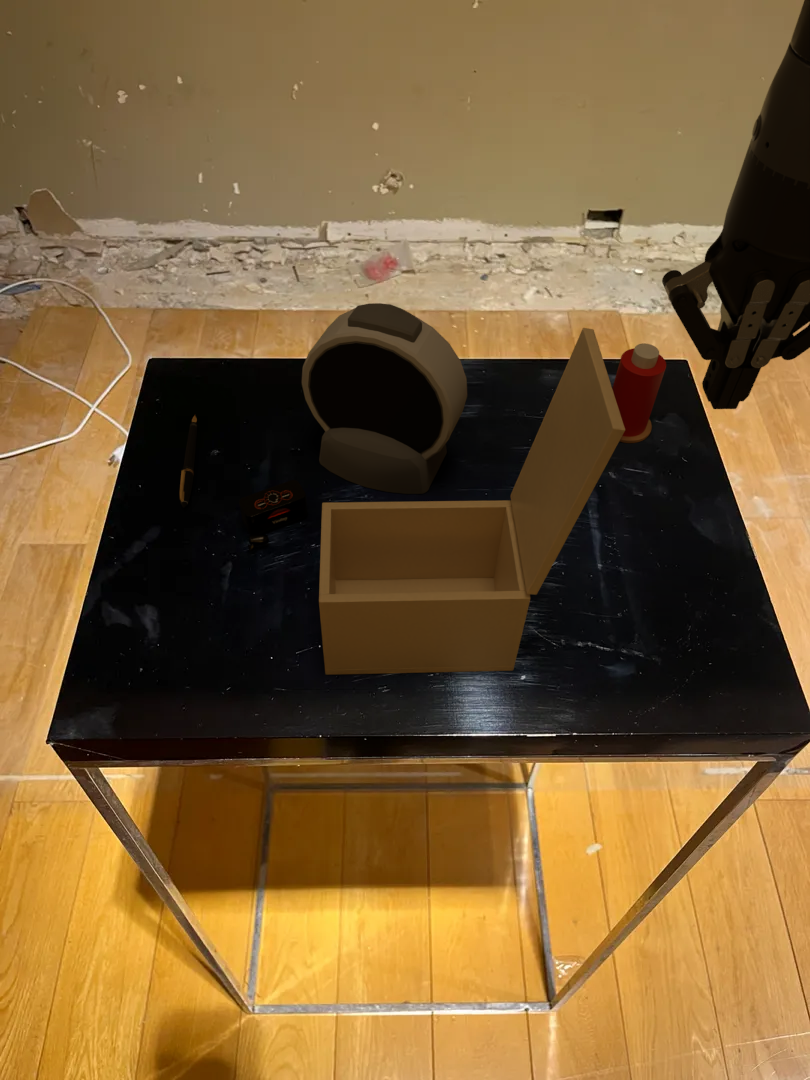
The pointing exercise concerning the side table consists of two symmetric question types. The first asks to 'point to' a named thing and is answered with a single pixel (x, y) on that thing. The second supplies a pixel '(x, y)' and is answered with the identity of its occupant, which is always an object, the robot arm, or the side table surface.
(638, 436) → the coaster
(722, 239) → the robot arm
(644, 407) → the sauce bottle
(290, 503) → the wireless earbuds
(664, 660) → the side table surface
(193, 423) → the fountain pen
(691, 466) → the side table surface
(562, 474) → the breadbox lid
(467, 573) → the box
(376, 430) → the alarm clock
